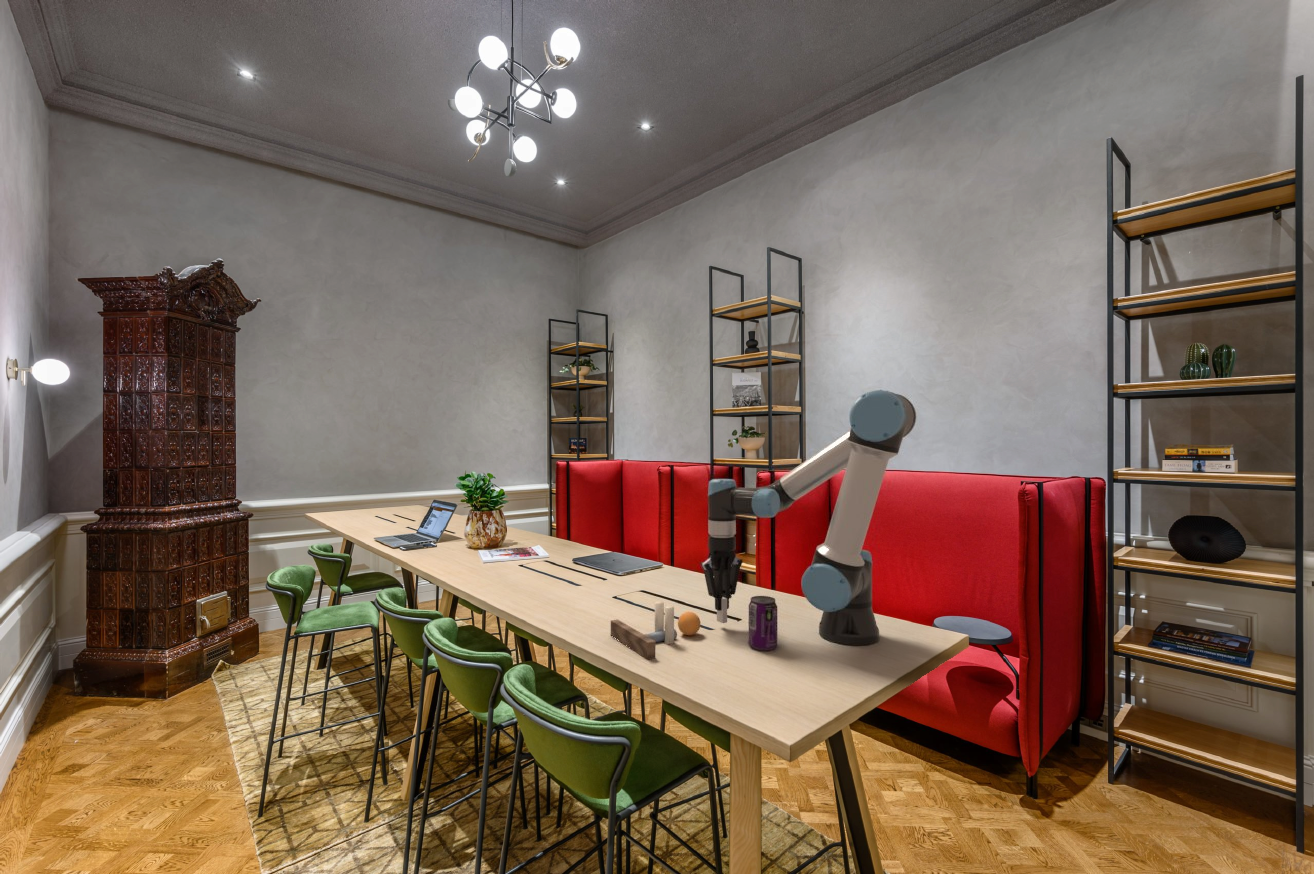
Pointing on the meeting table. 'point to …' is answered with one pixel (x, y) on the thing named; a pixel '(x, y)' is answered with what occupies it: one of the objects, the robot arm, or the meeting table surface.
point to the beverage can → (763, 623)
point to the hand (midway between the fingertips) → (722, 621)
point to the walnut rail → (633, 639)
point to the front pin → (659, 636)
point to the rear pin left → (669, 625)
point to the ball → (689, 623)
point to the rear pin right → (659, 616)
